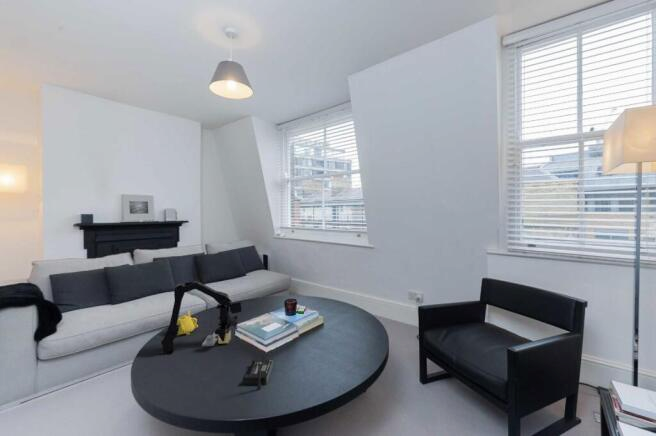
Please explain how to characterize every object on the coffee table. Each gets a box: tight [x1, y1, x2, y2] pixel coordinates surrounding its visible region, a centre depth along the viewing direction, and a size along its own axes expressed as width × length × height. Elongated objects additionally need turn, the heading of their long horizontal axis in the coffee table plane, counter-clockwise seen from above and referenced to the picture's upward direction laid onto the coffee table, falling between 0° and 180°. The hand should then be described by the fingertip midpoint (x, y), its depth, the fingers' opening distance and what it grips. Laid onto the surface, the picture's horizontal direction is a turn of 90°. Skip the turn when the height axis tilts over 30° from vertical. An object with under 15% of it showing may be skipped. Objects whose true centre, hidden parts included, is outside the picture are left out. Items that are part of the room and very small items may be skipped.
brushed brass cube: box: [217, 328, 232, 344], centre depth 176 cm, size 6×6×6 cm
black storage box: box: [244, 354, 274, 391], centre depth 140 cm, size 20×14×17 cm
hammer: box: [201, 331, 218, 347], centre depth 181 cm, size 17×7×4 cm, turn 4°
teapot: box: [176, 310, 199, 337], centre depth 191 cm, size 20×15×12 cm
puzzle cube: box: [296, 305, 307, 314], centre depth 206 cm, size 10×10×10 cm
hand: (224, 338), depth 176 cm, fingers closed on brushed brass cube, 6 cm apart
